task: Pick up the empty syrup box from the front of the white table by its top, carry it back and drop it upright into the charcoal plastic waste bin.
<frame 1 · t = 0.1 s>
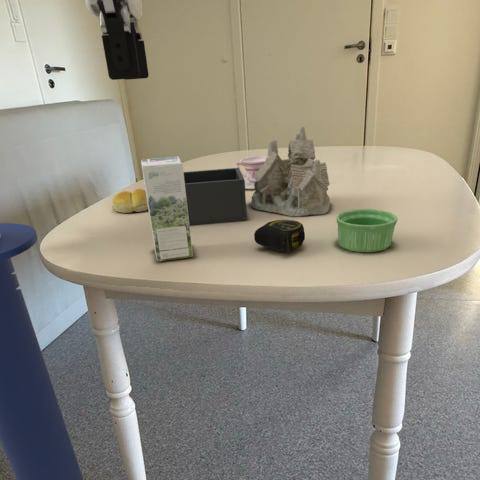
hand: (131, 78, 52), 25 cm above the table, tool pointing down, fingers open, 9 cm apart
bread roll: (135, 209, 99), on the table
teacup: (257, 185, 112), on the table
ceramic cottage: (289, 207, 92), on the table
tape measure: (281, 250, 70), on the table
bin: (213, 214, 91), on the table
syrup box: (174, 255, 71), on the table
ramekin: (364, 245, 70), on the table
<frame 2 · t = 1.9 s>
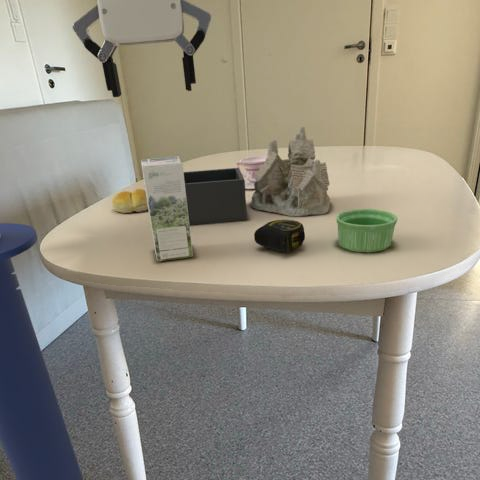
hand: (153, 93, 60), 23 cm above the table, tool pointing down, fingers open, 9 cm apart
nothing on the table moved.
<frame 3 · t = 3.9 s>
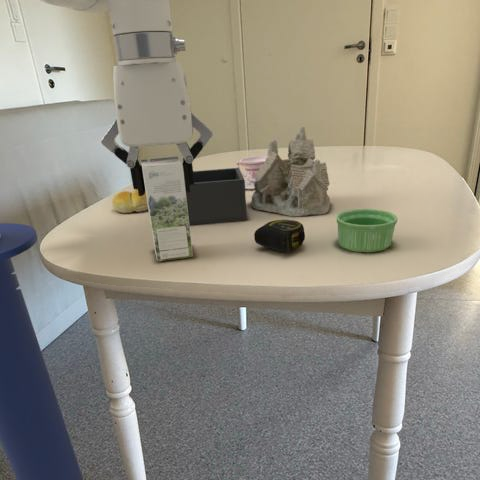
hand: (165, 190, 66), 10 cm above the table, tool pointing down, fingers closed on syrup box, 6 cm apart
syrup box: (174, 255, 71), on the table, touching gripper
everything else where it was.
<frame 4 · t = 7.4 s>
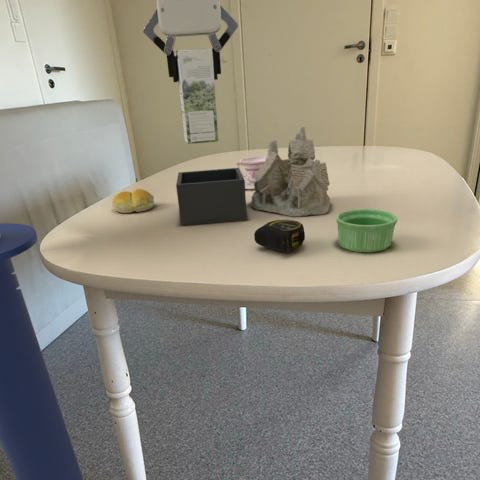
hand: (195, 79, 77), 24 cm above the table, tool pointing down, fingers closed on syrup box, 6 cm apart
syrup box: (201, 142, 82), point 14 cm above the table, touching gripper
everything else where it was.
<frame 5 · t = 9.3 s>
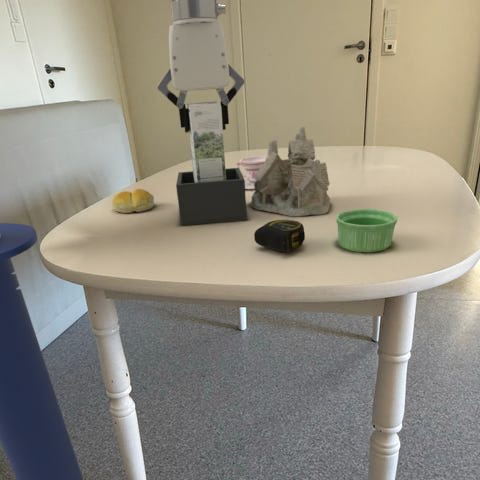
hand: (205, 129, 83), 16 cm above the table, tool pointing down, fingers closed on syrup box, 6 cm apart
syrup box: (210, 185, 88), point 6 cm above the table, touching gripper
everything else where it was.
when the fingers open (11 cm above the table, at t = 11.1 s): syrup box stays where it is, resting on bin.
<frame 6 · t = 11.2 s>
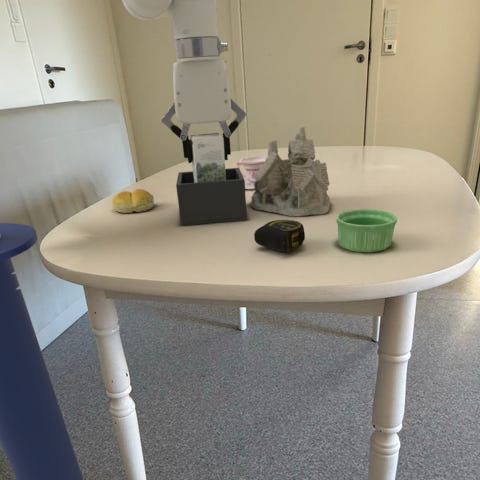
hand: (207, 159, 86), 11 cm above the table, tool pointing down, fingers open, 6 cm apart
syrup box: (212, 212, 90), resting on bin
everything else where it was.
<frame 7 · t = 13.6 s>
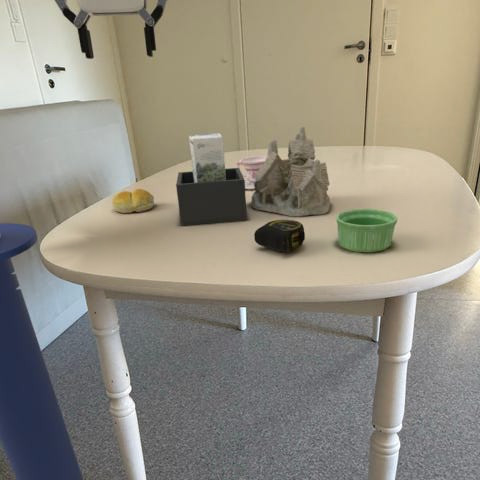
hand: (120, 57, 72), 28 cm above the table, tool pointing down, fingers open, 9 cm apart
nothing on the table moved.
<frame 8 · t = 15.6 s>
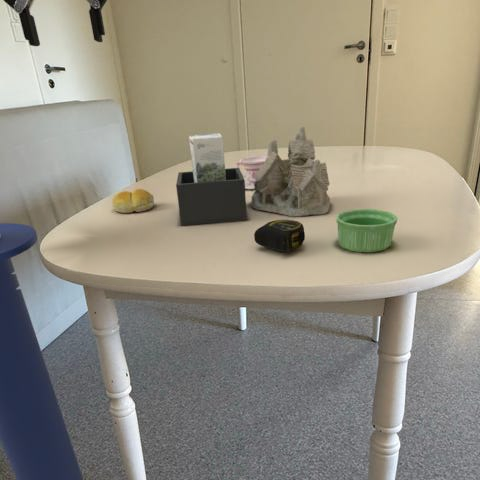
hand: (67, 43, 68), 30 cm above the table, tool pointing down, fingers open, 9 cm apart
nothing on the table moved.
at the end: syrup box inside the target area in the bin (0.1 cm from its centre), point 0.4 cm above the bin's base; the gripper is holding nothing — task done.
